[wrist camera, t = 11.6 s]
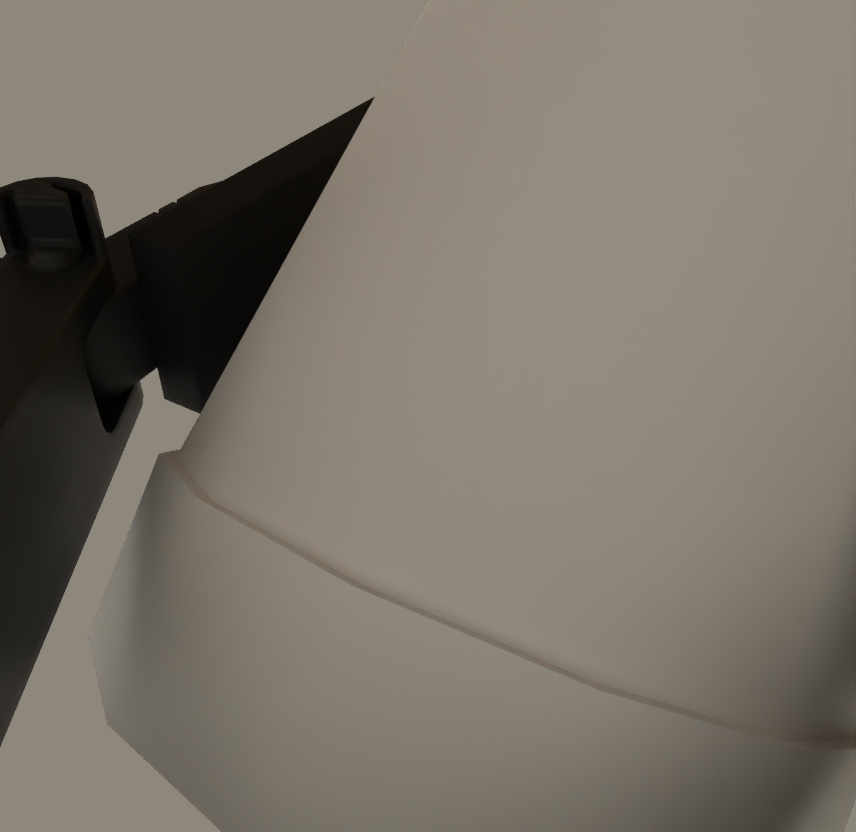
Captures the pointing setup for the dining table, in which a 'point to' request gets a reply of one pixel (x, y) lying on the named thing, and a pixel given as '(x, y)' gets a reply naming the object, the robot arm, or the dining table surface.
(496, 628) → the foam cup
